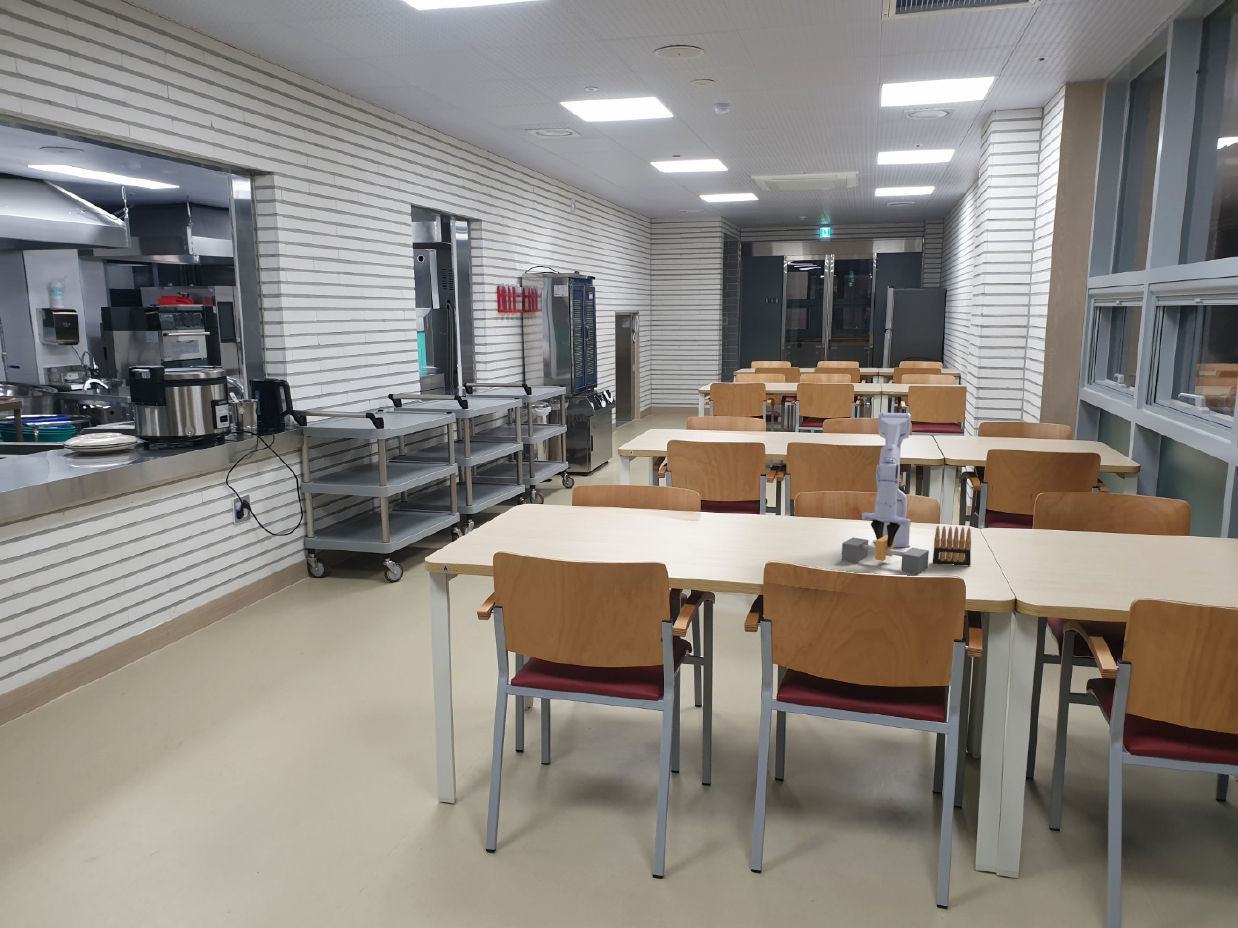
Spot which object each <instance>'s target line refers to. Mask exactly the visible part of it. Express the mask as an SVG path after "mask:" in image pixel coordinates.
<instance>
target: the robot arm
mask: <svg viewBox="0 0 1238 928" xmlns="http://www.w3.org/2000/svg"><path fill="white" fill-rule="evenodd" d="M877 418H878V419H877V421H878V422H877V429H878V430H877V431H878V434H879V437H881V438H882V439H885V441H884V442H885V445H883V446H882V447H881V449H880V452H879V453H880V455H879V462H878V464H877V465H876V469H875V471H876V472H875V479H876V489H877V490H876V491H877V493H876V494H875V500H874V512H867V511H865V512H863V513H861V520H862V521H866V520H868V521H872V522H871V523H870V527H871V528H872V530H873V533H874V535H875V538H876V539H873V541H872V542H873V543H875V544H876V540H878V539H880V538H882V537H884V536H885V535H888V539H887V547H891V546H892V544H893V540H894V548H905V547H906V548H908V547H911V545H910V533H911V531H910V530H911V529H910V528H911V524H912V523H911V522H912V521H911V519H910V518H906V517H907V510H908V509H907V507H908V506H907V504H908V502H907V501H908V500H907V499H908V498H907V495H906V494H905V492H904V491H902V490H900V488H899V481H900V473H901V472H900V471H901V466H900V465H901V450H902V449H901V447H902V443H903V442H904V440H906V439H908V438H909V437H910V435H911V423H912V422H911V420H912V415H911V414H910V412H906V413H904V412H903V413H902V412H883V411H881V412H880V413H879V414H878V417H877Z"/></svg>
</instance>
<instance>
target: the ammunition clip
mask: <svg viewBox="0 0 1238 928" xmlns="http://www.w3.org/2000/svg"><path fill="white" fill-rule="evenodd" d="M940 530H941V534H940ZM971 530H972V529H971V527H970V526H968V528H967V531H965V527H964V526H962V527H961V529H960V535H959V528H958V526H955V528H954V533H953V529H952V526H951V525H950V526H949V527H948V533H947V528H946V526H945V525H943V527H942V529H940V526H939V525H937V526H936V528H935V535H934V538H933V539H934V540H933V555H932V564H933V565H942V564H954V565H953V566H957V565H968V566H967V567H970V566H969V565H971V557H972V556H971V554H972V553H971V551H972V540H971V539H972V532H971ZM965 532H966V534H965ZM940 535H941V536H940ZM965 535H966V537H965Z"/></svg>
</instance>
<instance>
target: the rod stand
mask: <svg viewBox="0 0 1238 928" xmlns="http://www.w3.org/2000/svg"><path fill="white" fill-rule="evenodd" d="M841 544H842V545H841V561H844V560H845V561H844V562H850V563H855V564H856V563H859V562H862V561H863V560H865V559H866V558H868V557H869V556H868V555H869V551H870V552H874V553H875V548H876V545H869V539H864V538H857V537H851V538H850V539H847V540H846V541H844V542H841ZM929 552H930V551H929V550H928V549H923V548H916V547H911V548H909V549H908V550H906V551H902V550H897V549H894V550H892V549H887V548H886V554H891V555H892V556H898V557H901V570H900V571H901V573H908V574H912V575H913V574H914V575H917V574H918V575H920V574H921V573H922V572H924V571H925V570H927V569H928V568H929V555H930V553H929Z"/></svg>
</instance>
